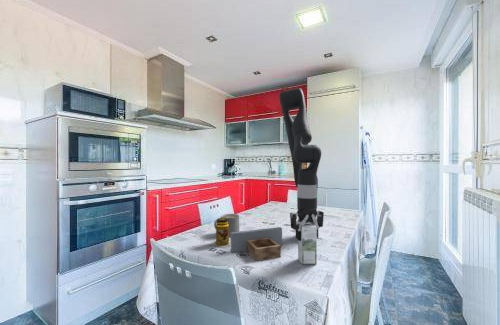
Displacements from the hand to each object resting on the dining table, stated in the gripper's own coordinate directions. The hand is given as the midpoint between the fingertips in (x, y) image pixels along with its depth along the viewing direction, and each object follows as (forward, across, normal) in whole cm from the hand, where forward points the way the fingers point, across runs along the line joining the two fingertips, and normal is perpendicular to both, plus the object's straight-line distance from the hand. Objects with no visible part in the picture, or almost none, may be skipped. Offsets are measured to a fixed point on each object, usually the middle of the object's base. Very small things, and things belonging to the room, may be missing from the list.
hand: (307, 239), depth 87 cm
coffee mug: (+9, -21, +44) cm, 50 cm away
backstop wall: (+9, -13, +20) cm, 25 cm away
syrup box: (+9, 0, 0) cm, 9 cm away
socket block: (+9, -13, +13) cm, 20 cm away
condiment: (+9, -27, +31) cm, 42 cm away
